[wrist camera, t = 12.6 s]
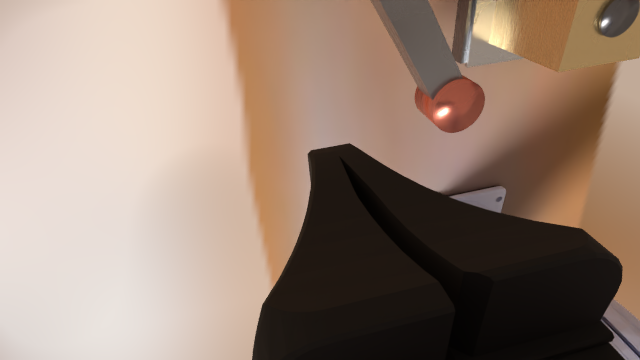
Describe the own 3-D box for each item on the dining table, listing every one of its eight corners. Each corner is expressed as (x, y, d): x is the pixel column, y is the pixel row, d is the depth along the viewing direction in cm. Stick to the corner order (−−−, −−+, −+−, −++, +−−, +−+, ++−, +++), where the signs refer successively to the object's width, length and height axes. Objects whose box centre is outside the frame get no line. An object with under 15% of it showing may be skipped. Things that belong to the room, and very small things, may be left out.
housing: (555, 32, 20) (643, 59, 16) (489, 43, 20) (561, 73, 16) (578, -53, 18) (687, -48, 14) (503, -44, 18) (593, -36, 13)
